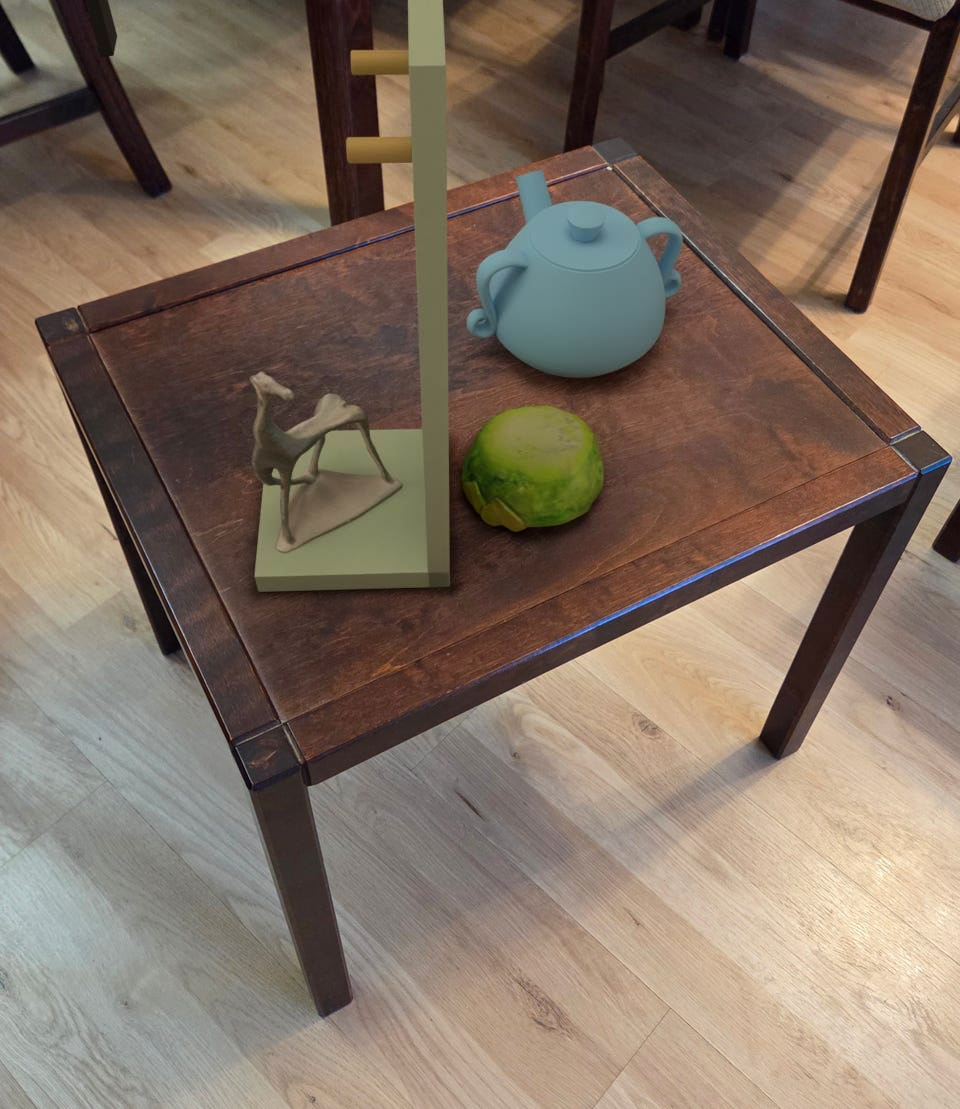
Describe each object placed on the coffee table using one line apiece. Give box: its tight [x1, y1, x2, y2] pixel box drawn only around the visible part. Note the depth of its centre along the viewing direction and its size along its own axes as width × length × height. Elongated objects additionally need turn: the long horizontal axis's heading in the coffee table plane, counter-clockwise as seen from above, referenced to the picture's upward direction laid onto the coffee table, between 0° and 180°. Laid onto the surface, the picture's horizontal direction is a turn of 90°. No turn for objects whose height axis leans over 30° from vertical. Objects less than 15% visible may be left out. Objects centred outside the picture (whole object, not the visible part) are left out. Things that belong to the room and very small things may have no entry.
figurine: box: [249, 370, 403, 553], centre depth 74 cm, size 11×6×15 cm, turn 123°
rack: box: [254, 0, 451, 593], centre depth 65 cm, size 14×14×40 cm
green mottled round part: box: [461, 404, 605, 533], centre depth 82 cm, size 12×11×5 cm
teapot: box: [466, 169, 684, 379], centre depth 90 cm, size 20×20×13 cm
